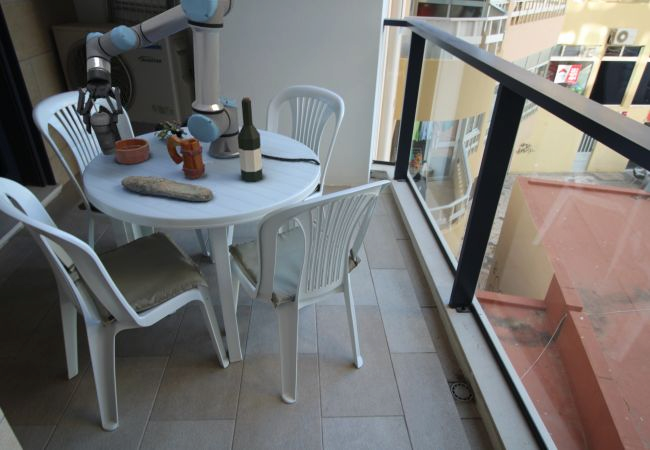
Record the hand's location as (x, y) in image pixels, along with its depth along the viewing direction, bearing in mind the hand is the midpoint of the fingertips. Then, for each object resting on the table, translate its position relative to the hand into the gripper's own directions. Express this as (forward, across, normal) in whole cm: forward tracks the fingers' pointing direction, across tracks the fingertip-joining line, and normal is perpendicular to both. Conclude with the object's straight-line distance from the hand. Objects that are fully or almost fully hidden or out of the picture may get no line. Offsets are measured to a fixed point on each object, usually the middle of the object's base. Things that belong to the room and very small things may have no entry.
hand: (101, 131), depth 139 cm
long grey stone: (+25, -21, 0) cm, 33 cm away
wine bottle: (+20, -51, -5) cm, 55 cm away
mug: (+15, -28, -10) cm, 33 cm away
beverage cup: (+4, 0, -9) cm, 10 cm away
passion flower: (-12, -18, -37) cm, 43 cm away
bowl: (0, -4, -24) cm, 25 cm away
